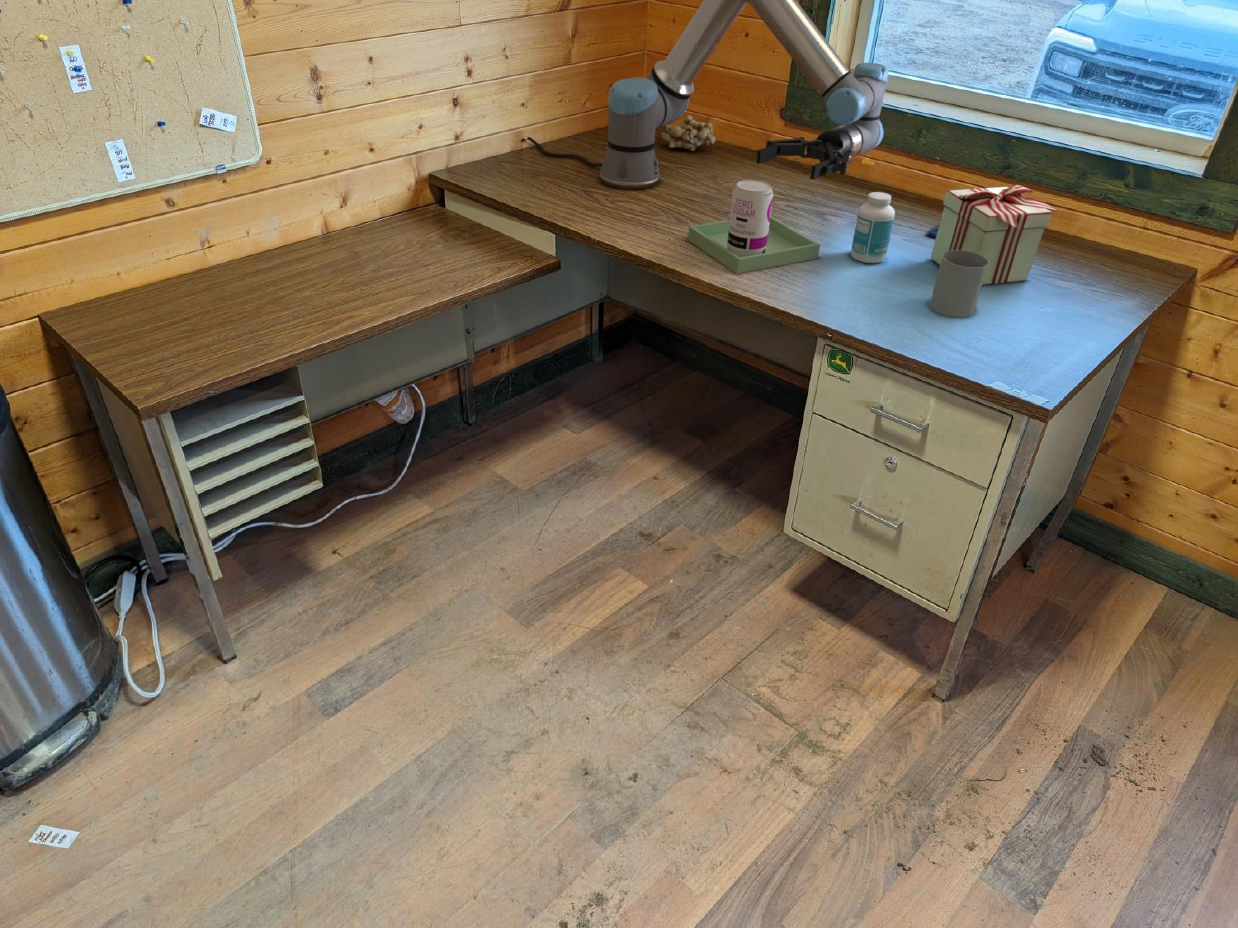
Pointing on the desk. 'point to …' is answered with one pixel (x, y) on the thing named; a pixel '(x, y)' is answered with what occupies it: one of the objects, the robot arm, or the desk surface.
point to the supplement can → (750, 218)
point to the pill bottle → (873, 229)
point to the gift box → (993, 229)
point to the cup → (958, 283)
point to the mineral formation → (689, 134)
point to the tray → (779, 251)
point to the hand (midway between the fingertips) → (785, 164)
